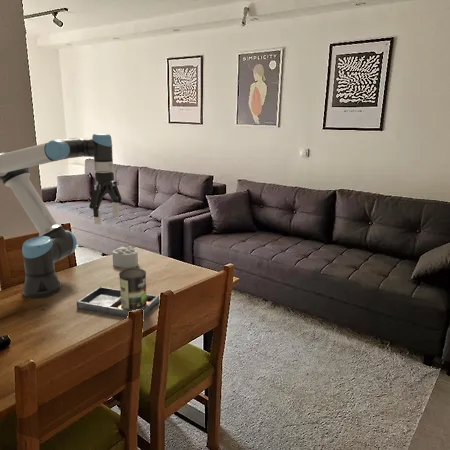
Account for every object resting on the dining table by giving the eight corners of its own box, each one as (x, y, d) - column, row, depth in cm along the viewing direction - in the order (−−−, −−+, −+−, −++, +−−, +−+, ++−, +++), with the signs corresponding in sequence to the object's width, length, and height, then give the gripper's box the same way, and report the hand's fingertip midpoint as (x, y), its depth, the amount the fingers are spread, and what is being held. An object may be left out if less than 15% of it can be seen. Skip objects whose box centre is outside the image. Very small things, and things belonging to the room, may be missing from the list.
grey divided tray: (77, 308, 154) (76, 301, 153) (100, 292, 169) (100, 286, 168) (140, 320, 146) (140, 313, 145) (159, 302, 160) (159, 296, 160)
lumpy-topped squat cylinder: (124, 259, 210) (123, 243, 208) (142, 263, 204) (142, 247, 202) (110, 264, 201) (109, 249, 199) (129, 269, 195) (128, 253, 193)
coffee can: (151, 301, 159) (150, 269, 156) (140, 313, 149) (139, 279, 146) (128, 298, 161) (126, 266, 158) (116, 309, 152) (114, 276, 148)
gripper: (93, 175, 150) (97, 228, 156) (127, 168, 173) (130, 214, 179) (77, 174, 152) (81, 226, 158) (113, 167, 175) (115, 213, 181)
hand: (107, 220), depth 168 cm, fingers open, 13 cm apart
